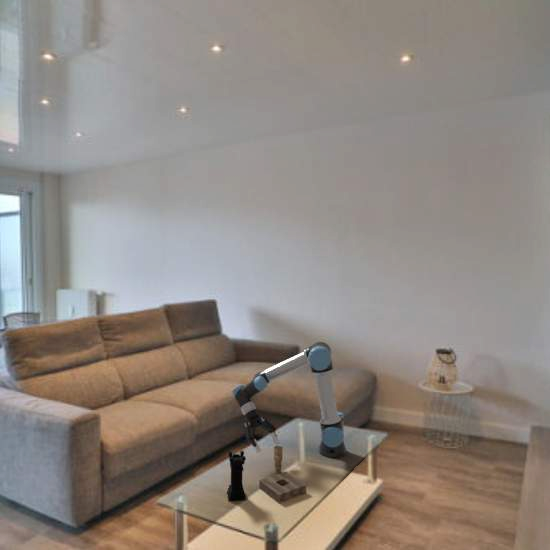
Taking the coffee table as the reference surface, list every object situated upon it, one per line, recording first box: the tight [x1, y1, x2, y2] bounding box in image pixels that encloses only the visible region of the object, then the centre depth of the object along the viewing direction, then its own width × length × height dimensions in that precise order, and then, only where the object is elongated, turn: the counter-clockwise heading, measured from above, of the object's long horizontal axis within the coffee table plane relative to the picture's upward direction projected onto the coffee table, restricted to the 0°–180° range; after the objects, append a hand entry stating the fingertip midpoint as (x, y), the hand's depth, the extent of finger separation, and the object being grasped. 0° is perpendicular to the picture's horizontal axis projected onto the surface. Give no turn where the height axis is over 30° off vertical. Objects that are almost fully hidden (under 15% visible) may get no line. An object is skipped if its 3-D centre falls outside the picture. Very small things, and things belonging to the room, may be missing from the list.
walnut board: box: [258, 471, 307, 504], centre depth 229 cm, size 16×16×4 cm
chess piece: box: [226, 450, 247, 502], centre depth 222 cm, size 8×8×20 cm
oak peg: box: [273, 445, 284, 474], centre depth 246 cm, size 4×4×13 cm
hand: (269, 447), depth 250 cm, fingers open, 13 cm apart
